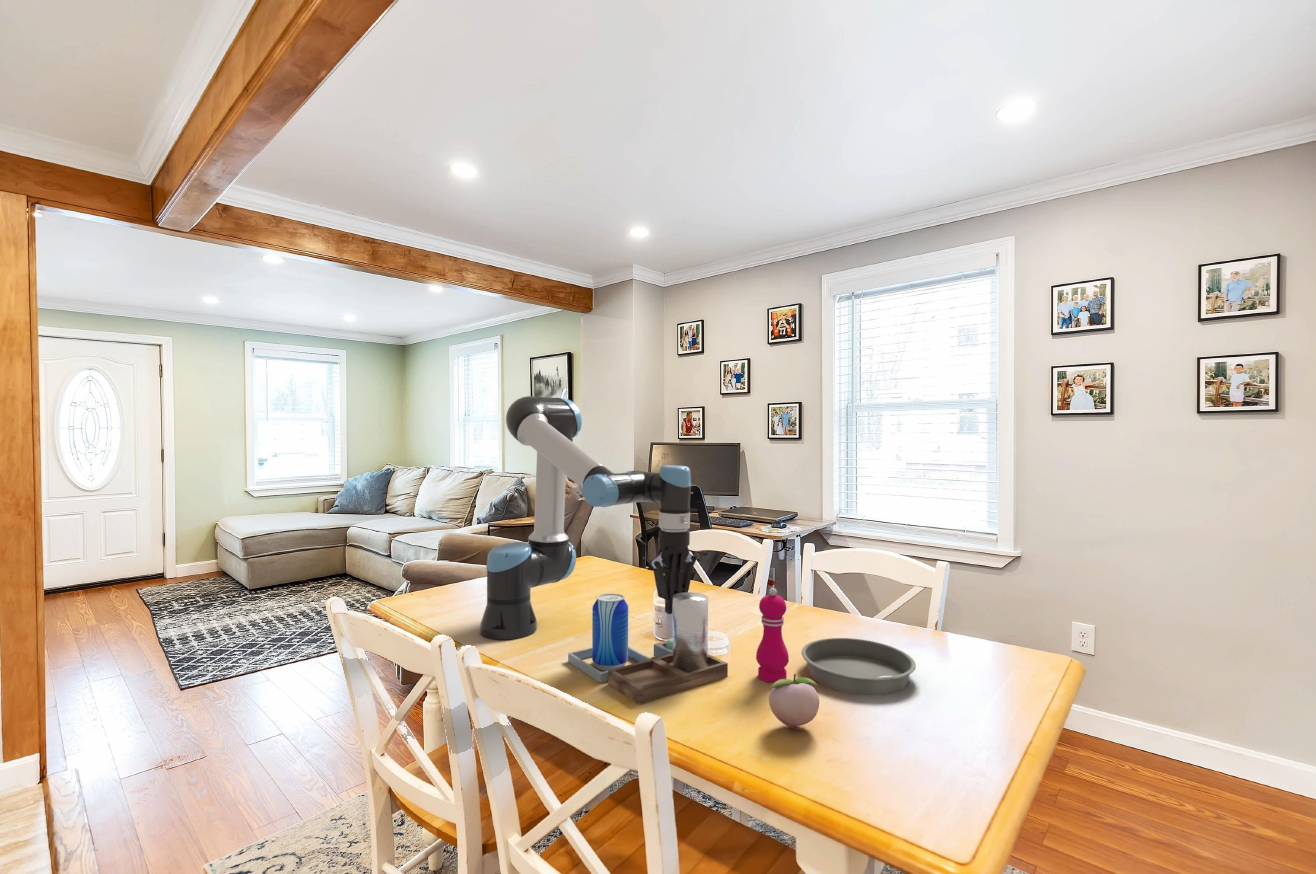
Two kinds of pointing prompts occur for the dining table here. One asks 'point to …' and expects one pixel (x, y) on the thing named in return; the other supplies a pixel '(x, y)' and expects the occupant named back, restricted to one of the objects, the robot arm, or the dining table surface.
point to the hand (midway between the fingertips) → (672, 625)
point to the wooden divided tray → (662, 677)
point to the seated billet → (690, 631)
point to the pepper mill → (772, 639)
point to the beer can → (610, 631)
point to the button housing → (661, 649)
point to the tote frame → (591, 671)
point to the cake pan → (858, 665)
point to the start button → (669, 643)
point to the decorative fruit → (794, 701)
